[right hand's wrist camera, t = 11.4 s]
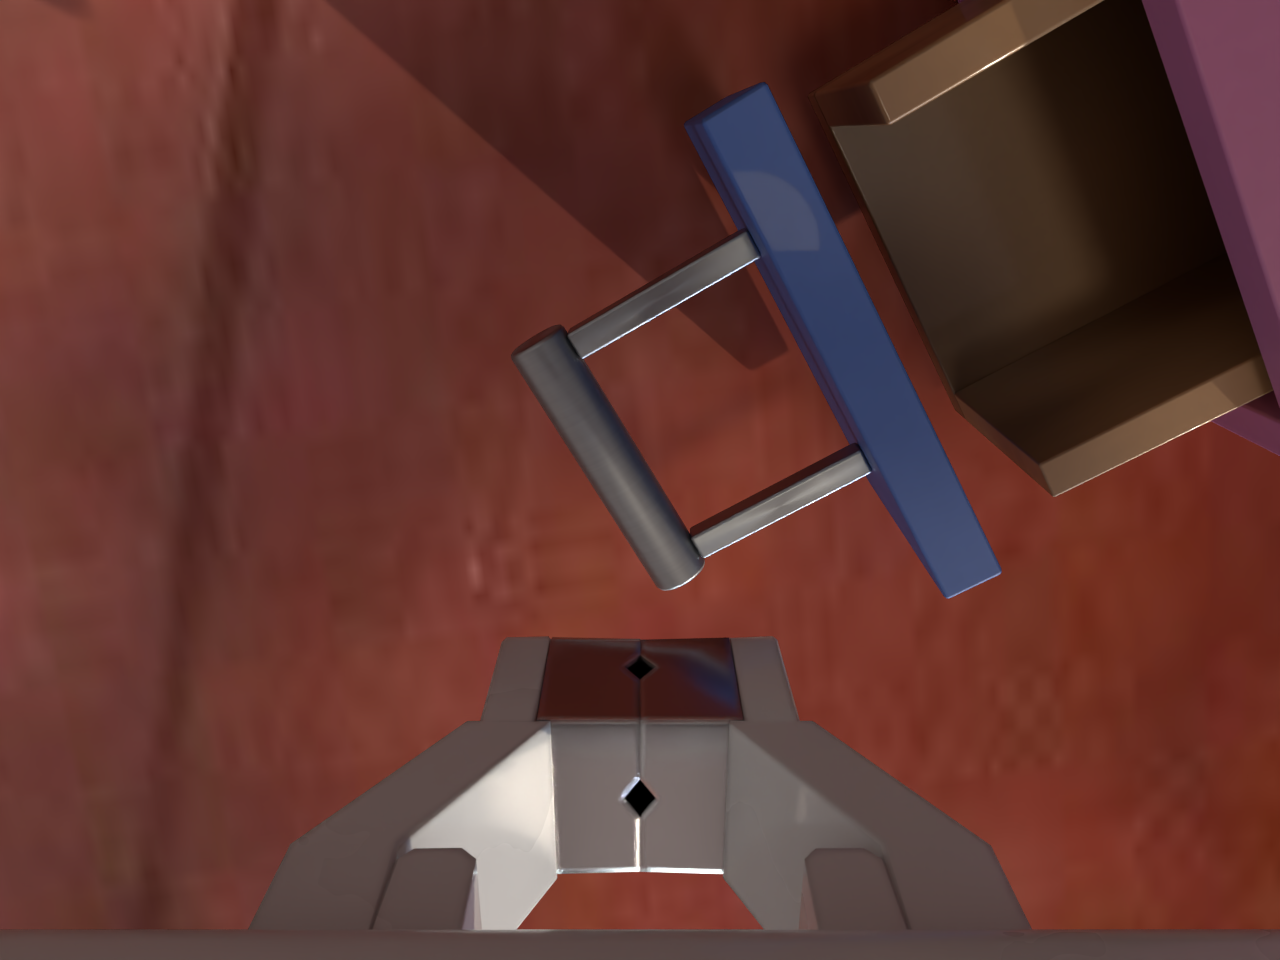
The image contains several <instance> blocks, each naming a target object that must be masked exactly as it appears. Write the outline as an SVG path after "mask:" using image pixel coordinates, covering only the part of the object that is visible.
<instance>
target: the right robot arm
mask: <svg viewBox="0 0 1280 960" xmlns="http://www.w3.org/2000/svg"><path fill="white" fill-rule="evenodd" d="M637 871H640V872H676V873H713V874H723V878H724V879H725V881H726V882H727V883H728V884H729V886H730V887H731V888H732V889H733V891H734V892H735V893H736V894H737V896H738V897H739V898H740V900H741V901H742V902H743V903H744V905H745V906H746V907H747V908H748V910H749V911H750V912H751V913H752V915H753V916H754V917H755V918H756V920H757V921H758V922H759V924H760V925H761V926H762V927H763V929H764V930H516V929H517V928H518V927H519V926H520V924H521V923H522V922H523V920H524V919H525V918H526V917H527V915H528V914H529V913H530V912H531V910H532V909H533V908H534V907H535V905H536V904H537V903H538V902H539V900H540V899H541V898H542V897H543V895H544V894H545V893H546V892H547V890H548V889H549V888H550V887H551V885H552V884H553V883H554V882H555V880H556V879H557V874H567V873H602V872H637ZM0 960H1280V930H1259V929H1126V930H1032V929H1031V927H1030V925H1029V922H1028V920H1027V918H1026V916H1025V914H1024V912H1023V910H1022V908H1021V906H1020V904H1019V902H1018V900H1017V898H1016V896H1015V894H1014V892H1013V890H1012V888H1011V886H1010V884H1009V882H1008V880H1007V878H1006V876H1005V874H1004V872H1003V870H1002V868H1001V865H1000V863H999V861H998V859H997V857H996V855H995V853H994V851H993V849H992V847H991V845H989V844H988V843H986V842H985V841H983V840H982V839H981V838H979V837H978V836H976V835H975V834H973V833H972V832H971V831H969V830H968V829H966V828H965V827H963V826H962V825H961V824H959V823H958V822H956V821H955V820H953V819H952V818H951V817H949V816H948V815H946V814H945V813H943V812H942V811H941V810H939V809H938V808H936V807H935V806H933V805H932V804H931V803H929V802H928V801H926V800H925V799H923V798H922V797H921V796H919V795H918V794H916V793H915V792H913V791H912V790H911V789H909V788H908V787H906V786H905V785H903V784H902V783H901V782H899V781H898V780H896V779H895V778H893V777H892V776H891V775H889V774H888V773H886V772H885V771H883V770H882V769H880V768H879V767H878V766H876V765H875V764H873V763H872V762H870V761H869V760H868V759H866V758H865V757H863V756H862V755H860V754H859V753H858V752H856V751H855V750H853V749H852V748H850V747H849V746H848V745H846V744H845V743H843V742H842V741H840V740H839V739H838V738H836V737H835V736H833V735H832V734H830V733H829V732H828V731H826V730H825V729H823V728H822V727H820V726H819V725H818V724H816V723H815V722H813V721H800V720H799V717H798V713H797V709H796V706H795V702H794V699H793V695H792V691H791V688H790V684H789V681H788V677H787V673H786V670H785V666H784V663H783V659H782V655H781V652H780V648H779V645H778V641H777V639H775V638H774V637H773V636H765V637H742V638H693V639H652V640H640V639H616V638H563V637H552V639H550V638H549V637H548V636H547V637H507V638H506V639H505V640H504V641H503V642H502V644H501V647H500V651H499V654H498V658H497V662H496V665H495V669H494V673H493V676H492V680H491V684H490V687H489V691H488V695H487V698H486V702H485V706H484V709H483V713H482V717H481V720H480V721H467V722H465V723H464V724H462V725H461V726H460V727H458V728H457V729H455V730H454V731H452V732H451V733H450V734H448V735H447V736H445V737H444V738H442V739H441V740H439V741H438V742H437V743H435V744H434V745H432V746H431V747H429V748H428V749H427V750H425V751H424V752H422V753H421V754H419V755H418V756H416V757H415V758H414V759H412V760H411V761H409V762H408V763H406V764H405V765H404V766H402V767H401V768H399V769H398V770H396V771H395V772H394V773H392V774H391V775H389V776H388V777H386V778H385V779H383V780H382V781H381V782H379V783H378V784H376V785H375V786H373V787H372V788H371V789H369V790H368V791H366V792H365V793H363V794H362V795H360V796H359V797H358V798H356V799H355V800H353V801H352V802H350V803H349V804H348V805H346V806H345V807H343V808H342V809H340V810H339V811H337V812H336V813H335V814H333V815H332V816H330V817H329V818H327V819H326V820H325V821H323V822H322V823H320V824H319V825H317V826H316V827H314V828H313V829H312V830H310V831H309V832H307V833H306V834H304V835H303V836H302V837H300V838H299V839H297V840H296V841H294V842H293V843H291V844H290V846H289V848H288V850H287V852H286V854H285V856H284V858H283V860H282V862H281V864H280V866H279V868H278V870H277V872H276V874H275V876H274V878H273V880H272V882H271V884H270V886H269V888H268V890H267V892H266V894H265V896H264V898H263V900H262V902H261V904H260V906H259V908H258V910H257V912H256V914H255V916H254V918H253V920H252V923H251V925H250V927H249V929H248V930H0Z"/></svg>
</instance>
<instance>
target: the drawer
mask: <svg viewBox="0 0 1280 960" xmlns="http://www.w3.org/2000/svg"><path fill="white" fill-rule="evenodd" d="M808 98H809V100H810V102H811V104H812V107H813V109H814V111H815V113H816V115H817V117H818V119H819V121H820V124H821V126H822V128H823V130H824V132H825V134H826V136H827V138H828V141H829V143H830V145H831V147H832V149H833V151H834V153H835V155H836V158H837V160H838V162H839V164H840V166H841V168H842V170H843V172H844V175H845V177H846V179H847V181H848V183H849V185H850V187H851V189H852V192H853V194H854V196H855V198H856V200H857V202H858V204H859V206H860V209H861V211H862V213H863V215H864V217H865V219H866V221H867V223H868V226H869V228H870V230H871V232H872V234H873V236H874V238H875V240H876V243H877V245H878V247H879V249H880V251H881V253H882V255H883V257H884V260H885V262H886V264H887V266H888V268H889V270H890V272H891V274H892V277H893V279H894V281H895V283H896V285H897V287H898V289H899V291H900V294H901V296H902V298H903V300H904V302H905V304H906V306H907V309H908V311H909V313H910V315H911V317H912V319H913V321H914V323H915V326H916V328H917V330H918V332H919V334H920V336H921V338H922V340H923V343H924V345H925V347H926V349H927V351H928V353H929V355H930V357H931V360H932V362H933V364H934V366H935V368H936V370H937V372H938V374H939V377H940V379H941V381H942V383H943V385H944V387H945V389H946V391H947V394H948V396H949V398H950V400H951V402H952V404H953V406H954V408H955V410H956V411H957V412H958V413H959V414H960V415H961V416H963V417H964V418H965V419H966V420H967V421H968V422H969V423H970V424H972V425H973V426H974V427H975V428H976V429H977V430H978V431H979V432H981V433H982V434H983V435H984V436H985V437H986V438H987V439H988V440H990V441H991V442H992V443H993V444H994V445H995V446H996V447H998V448H999V449H1000V450H1001V451H1002V452H1003V453H1004V454H1005V455H1007V456H1008V457H1009V458H1010V459H1011V460H1012V461H1013V462H1015V463H1016V464H1017V465H1018V466H1019V467H1020V468H1021V469H1022V470H1024V471H1025V472H1026V473H1027V474H1028V475H1029V476H1030V477H1031V478H1033V479H1034V480H1035V481H1036V482H1037V483H1038V484H1039V485H1041V486H1042V487H1043V488H1044V489H1045V490H1046V491H1047V492H1048V493H1050V494H1051V495H1052V496H1053V497H1055V496H1058V495H1060V494H1062V493H1064V492H1066V491H1068V490H1070V489H1072V488H1074V487H1076V486H1078V485H1080V484H1082V483H1084V482H1086V481H1088V480H1091V479H1093V478H1095V477H1097V476H1099V475H1101V474H1103V473H1105V472H1107V471H1109V470H1111V469H1113V468H1115V467H1117V466H1119V465H1121V464H1123V463H1125V462H1127V461H1129V460H1132V459H1134V458H1136V457H1138V456H1140V455H1142V454H1144V453H1146V452H1148V451H1150V450H1152V449H1154V448H1156V447H1158V446H1160V445H1162V444H1164V443H1166V442H1168V441H1170V440H1173V439H1175V438H1177V437H1179V436H1181V435H1183V434H1185V433H1187V432H1189V431H1191V430H1193V429H1195V428H1197V427H1199V426H1201V425H1203V424H1205V423H1207V422H1209V421H1211V420H1214V419H1216V418H1218V417H1220V416H1222V415H1224V414H1226V413H1228V412H1230V411H1232V410H1234V409H1236V408H1238V407H1240V406H1242V405H1244V404H1246V403H1248V402H1250V401H1252V400H1255V399H1257V398H1259V397H1261V396H1263V395H1265V394H1267V393H1269V392H1271V391H1273V387H1272V384H1271V381H1270V378H1269V375H1268V372H1267V369H1266V366H1265V363H1264V360H1263V358H1262V355H1261V352H1260V349H1259V346H1258V343H1257V340H1256V337H1255V334H1254V331H1253V328H1252V325H1251V322H1250V319H1249V316H1248V313H1247V310H1246V307H1245V304H1244V301H1243V298H1242V295H1241V292H1240V289H1239V287H1238V284H1237V281H1236V278H1235V275H1234V272H1233V269H1232V266H1231V263H1230V260H1229V257H1228V254H1227V251H1226V248H1225V245H1224V242H1223V239H1222V236H1221V233H1220V230H1219V227H1218V224H1217V221H1216V218H1215V216H1214V213H1213V210H1212V207H1211V204H1210V201H1209V198H1208V195H1207V192H1206V189H1205V186H1204V183H1203V180H1202V177H1201V174H1200V171H1199V168H1198V165H1197V162H1196V159H1195V156H1194V153H1193V150H1192V148H1191V145H1190V142H1189V139H1188V136H1187V133H1186V130H1185V127H1184V124H1183V121H1182V118H1181V115H1180V112H1179V109H1178V106H1177V103H1176V100H1175V97H1174V94H1173V91H1172V88H1171V85H1170V82H1169V79H1168V77H1167V74H1166V71H1165V68H1164V65H1163V62H1162V59H1161V56H1160V53H1159V50H1158V47H1157V44H1156V41H1155V38H1154V35H1153V32H1152V29H1151V26H1150V23H1149V20H1148V17H1147V14H1146V11H1145V8H1144V6H1143V3H1142V0H964V1H962V2H961V3H959V4H957V5H956V6H954V7H952V8H951V9H949V10H947V11H946V12H944V13H942V14H941V15H939V16H937V17H936V18H934V19H932V20H931V21H929V22H927V23H926V24H924V25H922V26H921V27H919V28H917V29H916V30H914V31H912V32H911V33H909V34H907V35H906V36H904V37H902V38H901V39H899V40H897V41H896V42H894V43H893V44H891V45H889V46H888V47H886V48H884V49H883V50H881V51H879V52H878V53H876V54H874V55H873V56H871V57H869V58H868V59H866V60H864V61H863V62H861V63H859V64H858V65H856V66H854V67H853V68H851V69H849V70H848V71H846V72H844V73H843V74H841V75H839V76H838V77H836V78H834V79H833V80H831V81H829V82H828V83H826V84H824V85H823V86H821V87H819V88H818V89H816V90H814V91H813V92H811V93H809V95H808ZM684 127H685V129H686V131H687V133H688V135H689V137H690V139H691V141H692V143H693V145H694V146H695V148H696V150H697V152H698V154H699V156H700V158H701V160H702V162H703V164H704V166H705V168H706V169H707V171H708V173H709V175H710V177H711V179H712V181H713V183H714V185H715V187H716V189H717V191H718V193H719V194H720V196H721V198H722V200H723V202H724V204H725V206H726V208H727V210H728V212H729V214H730V216H731V217H732V219H733V221H734V223H735V225H736V227H737V229H738V231H737V232H735V233H734V234H732V235H730V236H728V237H727V238H725V239H723V240H721V241H720V242H718V243H716V244H715V245H713V246H711V247H709V248H708V249H706V250H704V251H703V252H701V253H699V254H697V255H696V256H694V257H692V258H691V259H689V260H687V261H685V262H684V263H682V264H680V265H678V266H677V267H675V268H673V269H672V270H670V271H668V272H666V273H665V274H663V275H661V276H660V277H658V278H656V279H654V280H653V281H651V282H649V283H647V284H646V285H644V286H642V287H641V288H639V289H637V290H635V291H634V292H632V293H630V294H629V295H627V296H625V297H623V298H622V299H620V300H618V301H617V302H615V303H613V304H611V305H610V306H608V307H606V308H604V309H603V310H601V311H599V312H598V313H596V314H594V315H592V316H591V317H589V318H587V319H586V320H584V321H582V322H580V323H579V324H577V325H575V326H574V327H572V328H570V330H569V332H568V333H567V331H566V330H565V328H564V327H563V326H562V325H555V326H552V327H550V328H547V329H546V330H544V331H542V332H540V333H538V334H537V335H535V336H533V337H532V338H530V339H529V340H527V341H526V342H524V343H523V344H521V345H520V346H519V347H518V348H516V349H515V350H514V352H513V353H512V354H511V358H512V361H513V362H514V364H515V365H516V367H517V368H518V370H519V372H520V373H521V375H522V376H523V378H524V379H525V381H526V382H527V384H528V386H529V387H530V389H531V390H532V392H533V393H534V395H535V397H536V398H537V400H538V401H539V403H540V404H541V406H542V408H543V409H544V411H545V412H546V414H547V415H548V417H549V419H550V420H551V422H552V423H553V425H554V426H555V428H556V430H557V431H558V433H559V434H560V436H561V437H562V439H563V441H564V442H565V444H566V445H567V447H568V448H569V450H570V451H571V453H572V455H573V456H574V458H575V459H576V461H577V462H578V464H579V466H580V467H581V469H582V470H583V472H584V473H585V475H586V477H587V478H588V480H589V481H590V483H591V484H592V486H593V488H594V489H595V491H596V492H597V494H598V495H599V497H600V499H601V500H602V502H603V503H604V505H605V506H606V508H607V509H608V511H609V513H610V514H611V516H612V517H613V519H614V520H615V522H616V524H617V525H618V527H619V528H620V530H621V531H622V533H623V535H624V536H625V538H626V539H627V541H628V542H629V544H630V546H631V547H632V549H633V550H634V552H635V553H636V555H637V557H638V558H639V560H640V561H641V563H642V564H643V566H644V567H645V569H646V571H647V572H648V574H649V575H650V577H651V578H652V580H653V582H654V583H655V585H656V586H657V587H658V588H659V589H661V590H672V589H675V588H678V587H680V586H682V585H684V584H686V583H688V582H689V581H691V580H692V579H693V578H694V577H696V576H697V575H698V574H699V572H700V571H701V570H702V568H703V567H704V564H705V560H704V558H706V557H708V556H710V555H712V554H714V553H716V552H718V551H720V550H721V549H723V548H725V547H727V546H729V545H731V544H733V543H735V542H737V541H739V540H741V539H743V538H745V537H747V536H749V535H751V534H753V533H755V532H757V531H759V530H760V529H762V528H764V527H766V526H768V525H770V524H772V523H774V522H776V521H778V520H780V519H782V518H784V517H786V516H788V515H790V514H792V513H794V512H796V511H798V510H800V509H801V508H803V507H805V506H807V505H809V504H811V503H813V502H815V501H817V500H819V499H821V498H823V497H825V496H827V495H829V494H831V493H833V492H835V491H837V490H839V489H841V488H842V487H844V486H846V485H848V484H850V483H852V482H854V481H856V480H858V479H860V478H862V477H864V476H866V477H867V479H868V481H869V482H870V484H871V485H872V487H873V488H874V490H875V491H876V493H877V495H878V496H879V498H880V499H881V501H882V502H883V504H884V505H885V507H886V508H887V510H888V511H889V513H890V514H891V516H892V517H893V519H894V521H895V522H896V524H897V525H898V527H899V528H900V530H901V531H902V533H903V534H904V536H905V537H906V539H907V540H908V542H909V544H910V545H911V547H912V548H913V550H914V551H915V553H916V554H917V556H918V557H919V559H920V560H921V562H922V563H923V565H924V567H925V568H926V570H927V571H928V573H929V574H930V576H931V577H932V579H933V580H934V582H935V583H936V585H937V586H938V588H939V589H940V591H941V593H942V594H943V596H944V597H946V598H951V597H953V596H955V595H957V594H959V593H962V592H964V591H966V590H968V589H970V588H972V587H974V586H976V585H978V584H980V583H983V582H985V581H987V580H989V579H991V578H993V577H995V576H997V575H999V574H1000V573H1001V567H1000V565H999V563H998V561H997V559H996V557H995V555H994V553H993V551H992V549H991V546H990V544H989V542H988V540H987V538H986V536H985V534H984V532H983V530H982V528H981V526H980V524H979V522H978V520H977V517H976V515H975V513H974V511H973V509H972V507H971V505H970V503H969V501H968V499H967V497H966V495H965V493H964V491H963V489H962V486H961V484H960V482H959V480H958V478H957V476H956V474H955V472H954V470H953V468H952V466H951V464H950V462H949V460H948V457H947V455H946V453H945V451H944V449H943V447H942V445H941V443H940V441H939V439H938V437H937V435H936V433H935V431H934V428H933V426H932V424H931V422H930V420H929V418H928V416H927V414H926V412H925V410H924V408H923V406H922V404H921V402H920V399H919V397H918V395H917V393H916V391H915V389H914V387H913V385H912V383H911V381H910V379H909V377H908V375H907V373H906V370H905V368H904V366H903V364H902V362H901V360H900V358H899V356H898V354H897V352H896V350H895V348H894V346H893V344H892V341H891V339H890V337H889V335H888V333H887V331H886V329H885V327H884V325H883V323H882V321H881V319H880V317H879V315H878V313H877V310H876V308H875V306H874V304H873V302H872V300H871V298H870V296H869V294H868V292H867V290H866V288H865V286H864V284H863V281H862V279H861V277H860V275H859V273H858V271H857V269H856V267H855V265H854V263H853V261H852V259H851V257H850V255H849V252H848V250H847V248H846V246H845V244H844V242H843V240H842V238H841V236H840V234H839V232H838V230H837V228H836V226H835V223H834V221H833V219H832V217H831V215H830V213H829V211H828V209H827V207H826V205H825V203H824V201H823V199H822V197H821V194H820V192H819V190H818V188H817V186H816V184H815V182H814V180H813V178H812V176H811V174H810V172H809V170H808V168H807V165H806V163H805V161H804V159H803V157H802V155H801V153H800V151H799V149H798V147H797V145H796V143H795V141H794V139H793V136H792V134H791V132H790V130H789V128H788V126H787V124H786V122H785V120H784V118H783V116H782V114H781V112H780V110H779V108H778V105H777V103H776V101H775V99H774V97H773V95H772V93H771V91H770V89H769V87H768V85H767V84H766V83H765V82H762V83H758V84H756V85H754V86H751V87H749V88H746V89H744V90H742V91H739V92H737V93H734V94H732V95H730V96H727V97H725V98H724V99H722V100H720V101H719V102H717V103H716V104H714V105H712V106H711V107H709V108H707V109H706V110H704V111H702V112H701V113H699V114H698V115H696V116H694V117H693V118H691V119H689V120H688V121H686V122H685V124H684ZM752 262H755V264H756V265H757V267H758V269H759V271H760V273H761V275H762V277H763V279H764V281H765V283H766V285H767V287H768V289H769V290H770V292H771V294H772V296H773V298H774V300H775V302H776V304H777V306H778V308H779V310H780V312H781V313H782V315H783V317H784V319H785V321H786V323H787V325H788V327H789V329H790V331H791V333H792V335H793V337H794V338H795V340H796V342H797V344H798V346H799V348H800V350H801V352H802V354H803V356H804V358H805V360H806V361H807V363H808V365H809V367H810V369H811V371H812V373H813V375H814V377H815V379H816V381H817V383H818V385H819V386H820V388H821V390H822V392H823V394H824V396H825V398H826V400H827V402H828V404H829V406H830V408H831V410H832V411H833V413H834V415H835V417H836V419H837V421H838V423H839V425H840V427H841V429H842V431H843V433H844V434H845V436H846V438H847V440H848V442H849V444H850V445H848V446H846V447H845V448H843V449H841V450H839V451H837V452H835V453H833V454H831V455H829V456H827V457H825V458H823V459H822V460H820V461H818V462H816V463H814V464H812V465H810V466H808V467H806V468H804V469H802V470H800V471H798V472H797V473H795V474H793V475H791V476H789V477H787V478H785V479H783V480H781V481H779V482H777V483H775V484H773V485H772V486H770V487H768V488H766V489H764V490H762V491H760V492H758V493H756V494H754V495H752V496H750V497H749V498H747V499H745V500H743V501H741V502H739V503H737V504H735V505H733V506H731V507H729V508H727V509H725V510H724V511H722V512H720V513H718V514H716V515H714V516H712V517H710V518H708V519H706V520H704V521H702V522H701V523H699V524H697V525H695V526H693V527H691V528H690V533H689V532H688V530H687V528H686V527H685V525H684V523H683V522H682V520H681V518H680V517H679V515H678V513H677V512H676V510H675V509H674V507H673V505H672V504H671V502H670V500H669V499H668V497H667V495H666V494H665V492H664V491H663V489H662V487H661V486H660V484H659V482H658V481H657V479H656V477H655V476H654V474H653V472H652V471H651V469H650V468H649V466H648V464H647V463H646V461H645V459H644V458H643V456H642V454H641V453H640V451H639V449H638V448H637V446H636V445H635V443H634V441H633V440H632V438H631V436H630V435H629V433H628V431H627V430H626V428H625V426H624V425H623V423H622V422H621V420H620V418H619V417H618V415H617V413H616V412H615V410H614V408H613V407H612V405H611V404H610V402H609V400H608V399H607V397H606V395H605V394H604V392H603V390H602V389H601V387H600V385H599V384H598V382H597V381H596V379H595V377H594V376H593V374H592V372H591V371H590V369H589V367H588V366H587V364H586V362H585V361H584V359H585V358H586V357H588V356H590V355H592V354H593V353H595V352H597V351H599V350H600V349H602V348H604V347H606V346H607V345H609V344H611V343H613V342H614V341H616V340H618V339H620V338H621V337H623V336H625V335H626V334H628V333H630V332H632V331H633V330H635V329H637V328H639V327H640V326H642V325H644V324H646V323H647V322H649V321H651V320H653V319H654V318H656V317H658V316H660V315H661V314H663V313H665V312H667V311H668V310H670V309H672V308H674V307H675V306H677V305H679V304H681V303H682V302H684V301H686V300H688V299H689V298H691V297H693V296H695V295H696V294H698V293H700V292H702V291H703V290H705V289H707V288H709V287H710V286H712V285H714V284H716V283H717V282H719V281H721V280H723V279H724V278H726V277H728V276H730V275H731V274H733V273H735V272H737V271H738V270H740V269H742V268H744V267H745V266H747V265H749V264H751V263H752Z"/></svg>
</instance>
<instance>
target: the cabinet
mask: <svg viewBox="0 0 1280 960" xmlns="http://www.w3.org/2000/svg"><path fill="white" fill-rule="evenodd" d="M962 1H964V0H958V3H961V2H962ZM1142 3H1143V6H1144V8H1145V11H1146V14H1147V17H1148V20H1149V23H1150V26H1151V29H1152V32H1153V35H1154V38H1155V41H1156V44H1157V47H1158V50H1159V53H1160V56H1161V59H1162V62H1163V65H1164V68H1165V71H1166V74H1167V77H1168V79H1169V82H1170V85H1171V88H1172V91H1173V94H1174V97H1175V100H1176V103H1177V106H1178V109H1179V112H1180V115H1181V118H1182V121H1183V124H1184V127H1185V130H1186V133H1187V136H1188V139H1189V142H1190V145H1191V148H1192V150H1193V153H1194V156H1195V159H1196V162H1197V165H1198V168H1199V171H1200V174H1201V177H1202V180H1203V183H1204V186H1205V189H1206V192H1207V195H1208V198H1209V201H1210V204H1211V207H1212V210H1213V213H1214V216H1215V218H1216V221H1217V224H1218V227H1219V230H1220V233H1221V236H1222V239H1223V242H1224V245H1225V248H1226V251H1227V254H1228V257H1229V260H1230V263H1231V266H1232V269H1233V272H1234V275H1235V278H1236V281H1237V284H1238V287H1239V289H1240V292H1241V295H1242V298H1243V301H1244V304H1245V307H1246V310H1247V313H1248V316H1249V319H1250V322H1251V325H1252V328H1253V331H1254V334H1255V337H1256V340H1257V343H1258V346H1259V349H1260V352H1261V355H1262V358H1263V360H1264V363H1265V366H1266V369H1267V372H1268V375H1269V378H1270V381H1271V384H1272V387H1273V391H1271V392H1269V393H1267V394H1265V395H1263V396H1261V397H1259V398H1257V399H1255V400H1252V401H1250V402H1248V403H1246V404H1244V405H1242V406H1240V407H1238V408H1236V409H1234V410H1232V411H1230V412H1228V413H1226V414H1224V415H1222V416H1220V417H1218V418H1216V419H1214V420H1211V421H1212V422H1214V423H1216V424H1218V425H1220V426H1222V427H1224V428H1226V429H1228V430H1230V431H1232V432H1234V433H1236V434H1238V435H1240V436H1242V437H1244V438H1246V439H1248V440H1250V441H1252V442H1253V443H1255V444H1257V445H1259V446H1261V447H1263V448H1265V449H1267V450H1269V451H1271V452H1273V453H1275V454H1277V455H1279V456H1280V0H1142Z"/></svg>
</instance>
